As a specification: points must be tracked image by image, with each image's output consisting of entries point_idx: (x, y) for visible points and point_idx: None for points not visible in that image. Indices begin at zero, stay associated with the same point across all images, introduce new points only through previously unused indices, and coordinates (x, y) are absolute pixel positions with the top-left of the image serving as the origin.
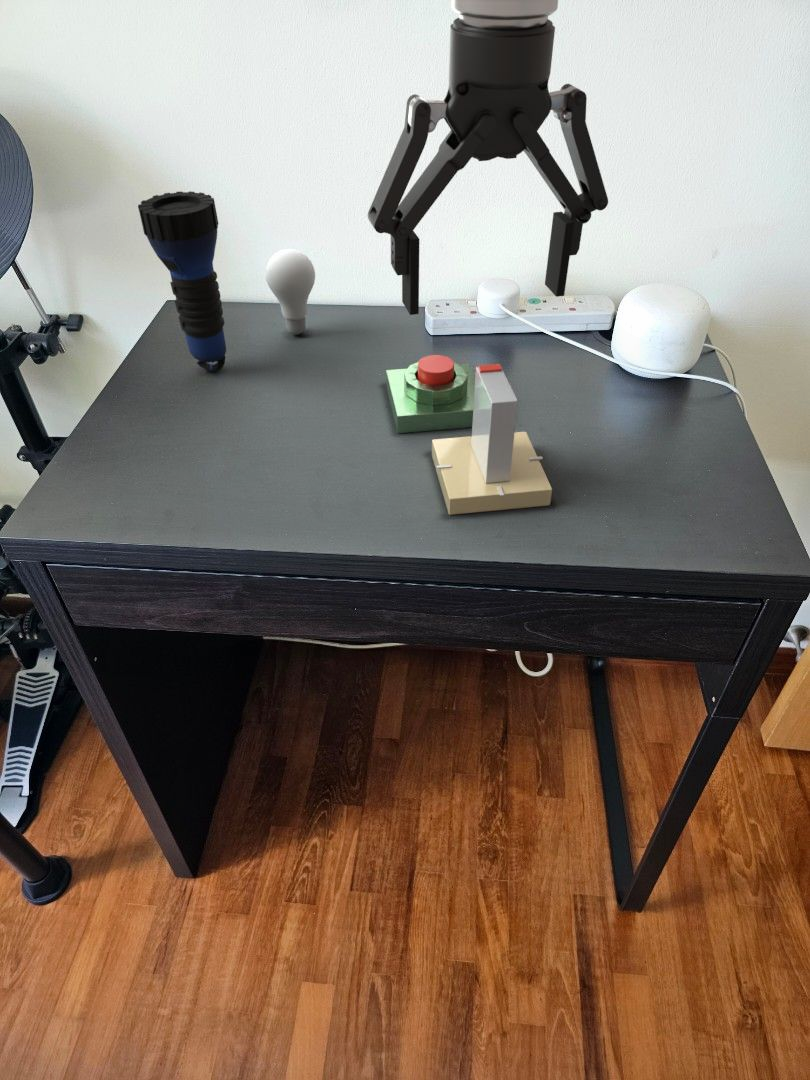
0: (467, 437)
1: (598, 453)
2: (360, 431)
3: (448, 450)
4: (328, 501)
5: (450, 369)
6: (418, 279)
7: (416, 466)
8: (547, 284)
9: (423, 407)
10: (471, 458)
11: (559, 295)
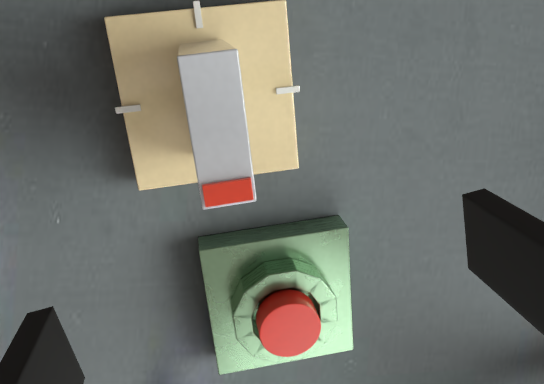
0: None
1: (10, 162)
2: (391, 220)
3: (275, 137)
4: (453, 47)
5: (267, 315)
6: (527, 234)
7: (318, 131)
8: (76, 367)
9: (305, 252)
10: None
11: (42, 311)
